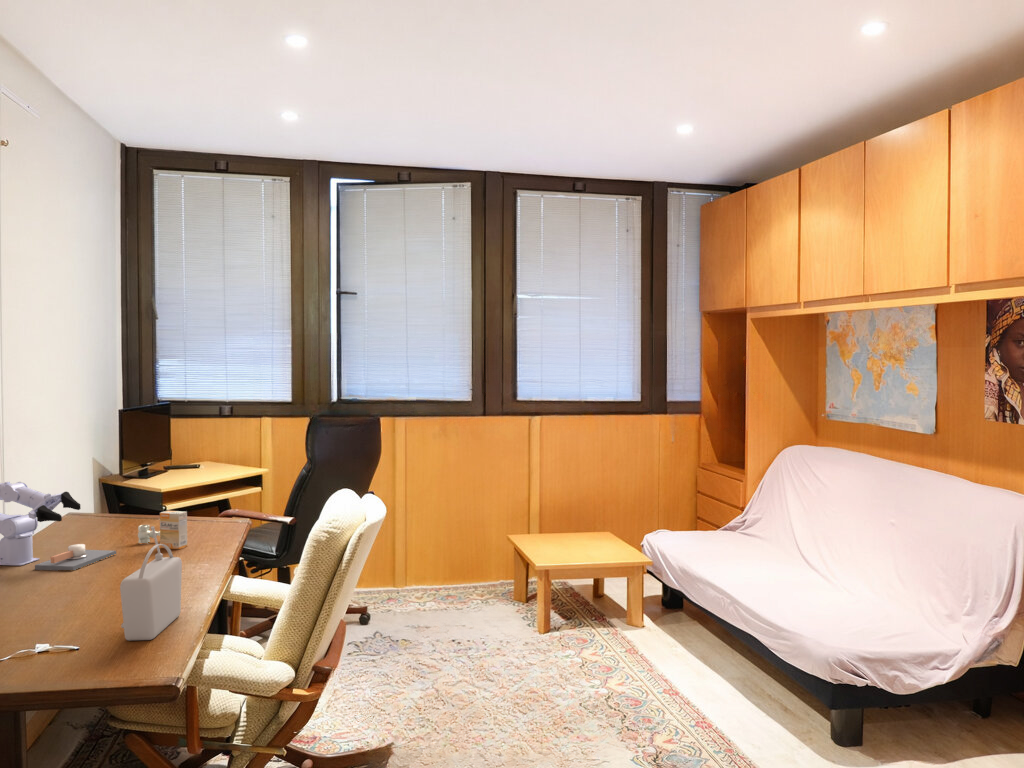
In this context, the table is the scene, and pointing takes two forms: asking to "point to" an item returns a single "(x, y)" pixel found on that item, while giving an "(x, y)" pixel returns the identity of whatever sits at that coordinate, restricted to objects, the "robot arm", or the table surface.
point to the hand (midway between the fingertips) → (70, 512)
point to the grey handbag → (151, 595)
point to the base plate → (75, 561)
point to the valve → (145, 533)
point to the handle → (69, 553)
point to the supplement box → (173, 529)
